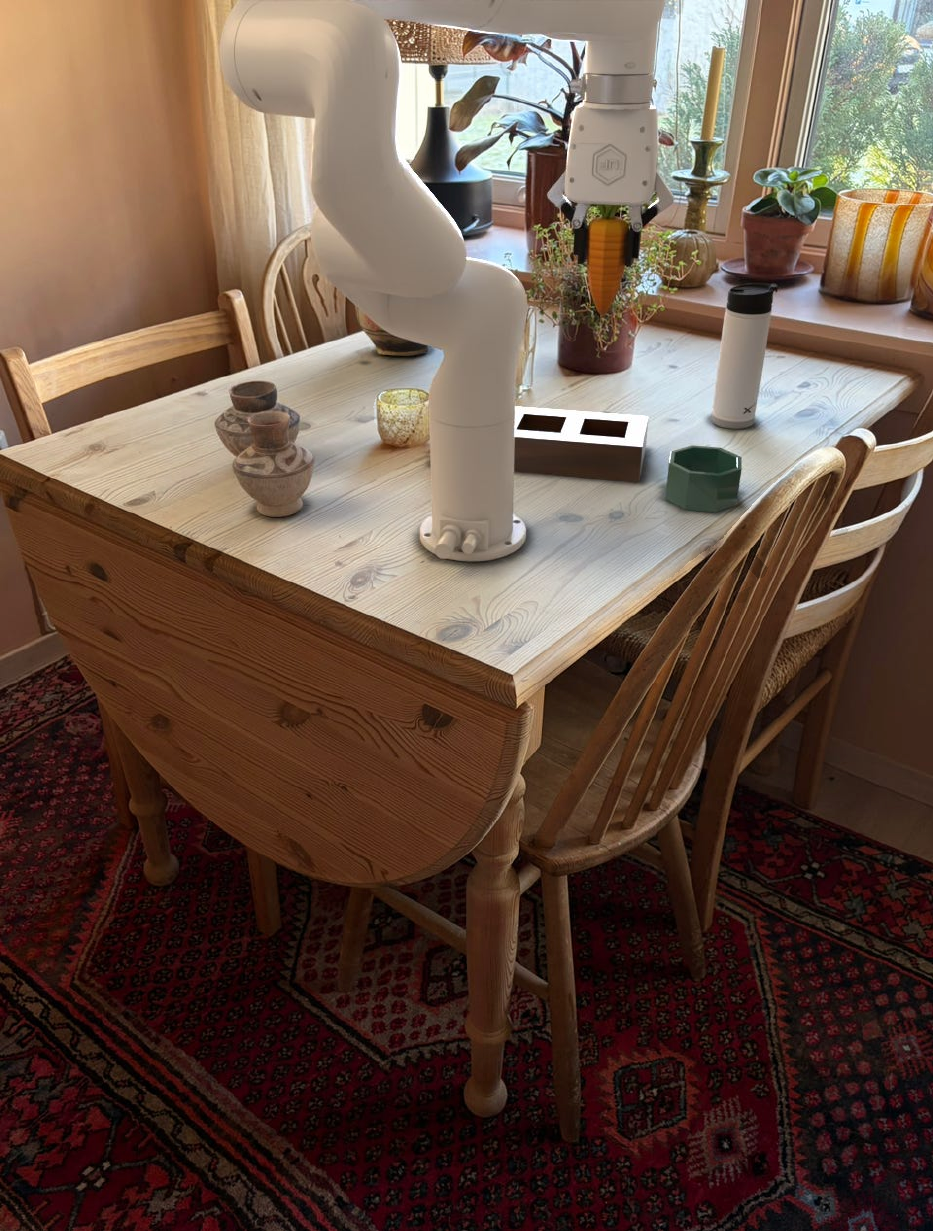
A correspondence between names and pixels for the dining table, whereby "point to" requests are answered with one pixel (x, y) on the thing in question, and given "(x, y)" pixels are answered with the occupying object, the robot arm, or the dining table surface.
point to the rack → (580, 443)
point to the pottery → (266, 448)
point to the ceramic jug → (388, 339)
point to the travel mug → (742, 354)
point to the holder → (703, 478)
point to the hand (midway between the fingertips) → (605, 261)
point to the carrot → (606, 256)
